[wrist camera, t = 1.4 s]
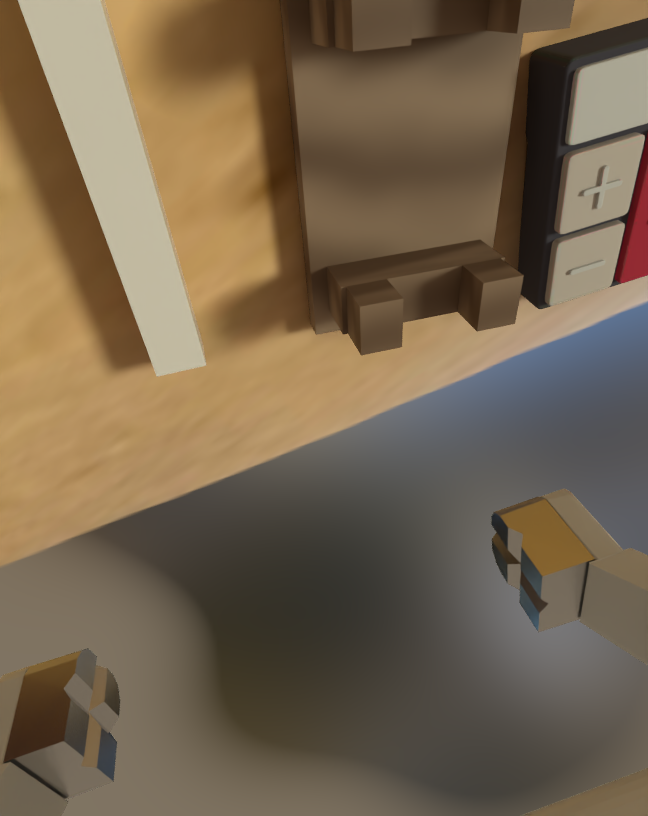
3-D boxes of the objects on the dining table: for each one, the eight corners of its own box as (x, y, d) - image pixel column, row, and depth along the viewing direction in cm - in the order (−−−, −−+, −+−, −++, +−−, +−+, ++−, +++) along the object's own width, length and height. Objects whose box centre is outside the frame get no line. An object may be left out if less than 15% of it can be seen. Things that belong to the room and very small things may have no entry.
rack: (271, -84, 23) (310, -109, 17) (524, -100, 24) (628, -128, 19) (310, 323, 35) (340, 381, 30) (475, 291, 37) (530, 341, 32)
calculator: (542, 317, 36) (576, 62, 26) (509, 288, 39) (527, 50, 29) (686, 270, 37) (775, 6, 26) (642, 245, 40) (706, 0, 30)
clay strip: (8, -64, 21) (-9, -72, 19) (84, -72, 22) (77, -80, 19) (156, 351, 34) (156, 376, 32) (202, 341, 34) (206, 365, 32)
